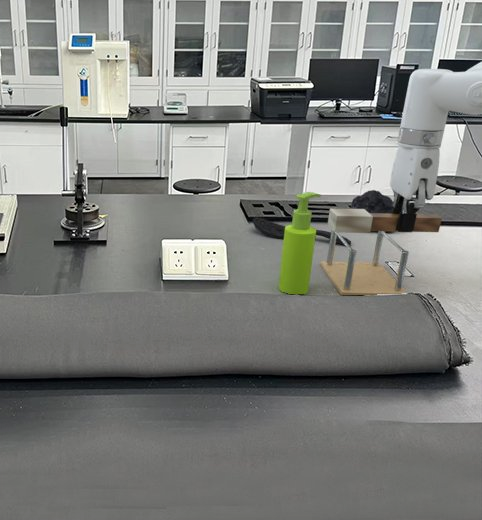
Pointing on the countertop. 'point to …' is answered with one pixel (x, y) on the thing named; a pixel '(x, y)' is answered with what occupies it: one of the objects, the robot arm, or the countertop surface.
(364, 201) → the crystal cluster
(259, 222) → the hairbrush
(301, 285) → the soap dispenser
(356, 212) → the cleaning brush
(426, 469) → the countertop surface
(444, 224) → the countertop surface
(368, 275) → the wire rack
